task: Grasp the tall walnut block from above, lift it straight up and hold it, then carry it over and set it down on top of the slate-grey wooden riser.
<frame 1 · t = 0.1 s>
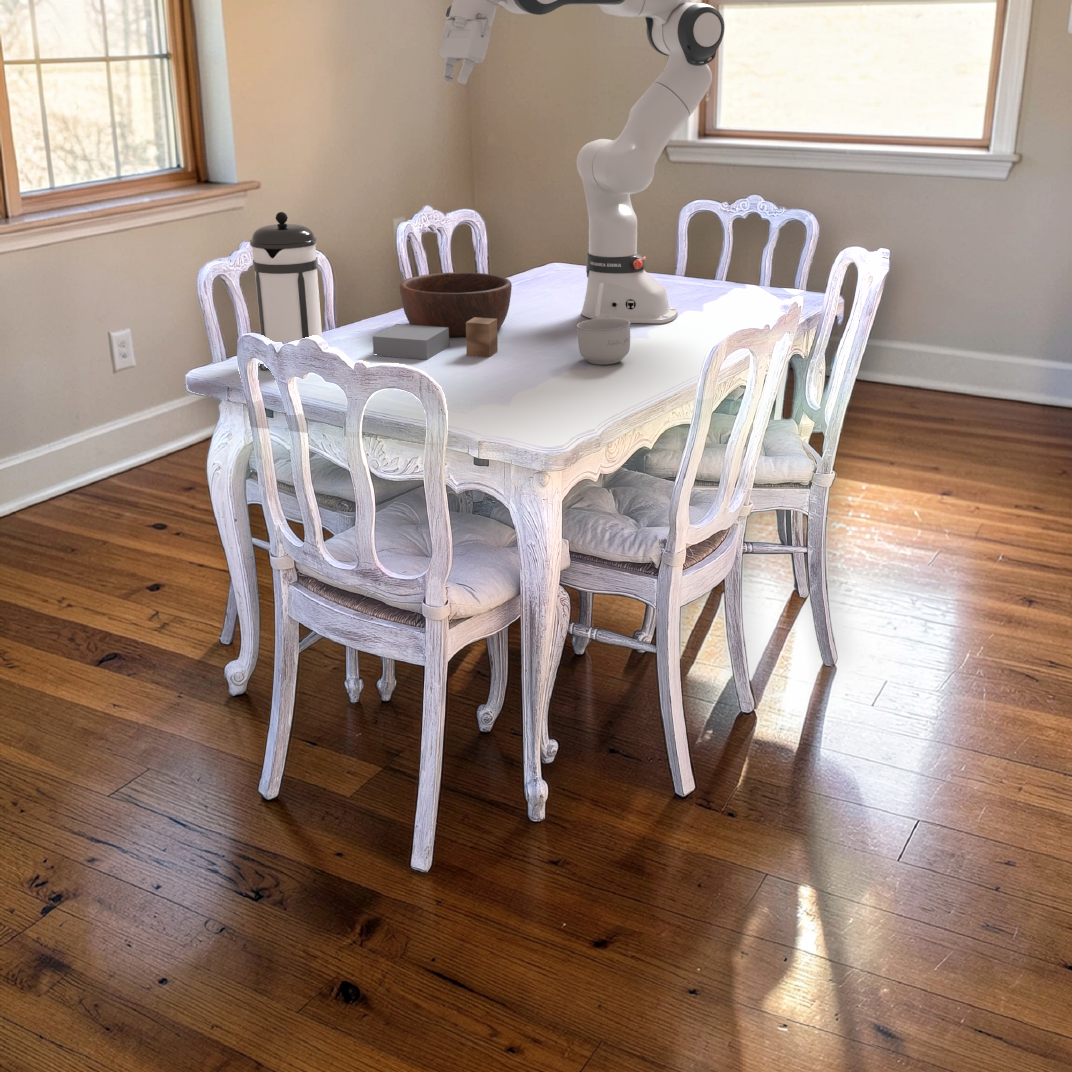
hand: (453, 82, 253), 52 cm above the table, tool tilted 20°, fingers open, 8 cm apart
wooden bowl: (457, 328, 275), on the table
walnut block: (482, 353, 252), on the table
teacup: (606, 360, 247), on the table
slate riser: (412, 350, 255), on the table
coffee press: (294, 363, 246), on the table
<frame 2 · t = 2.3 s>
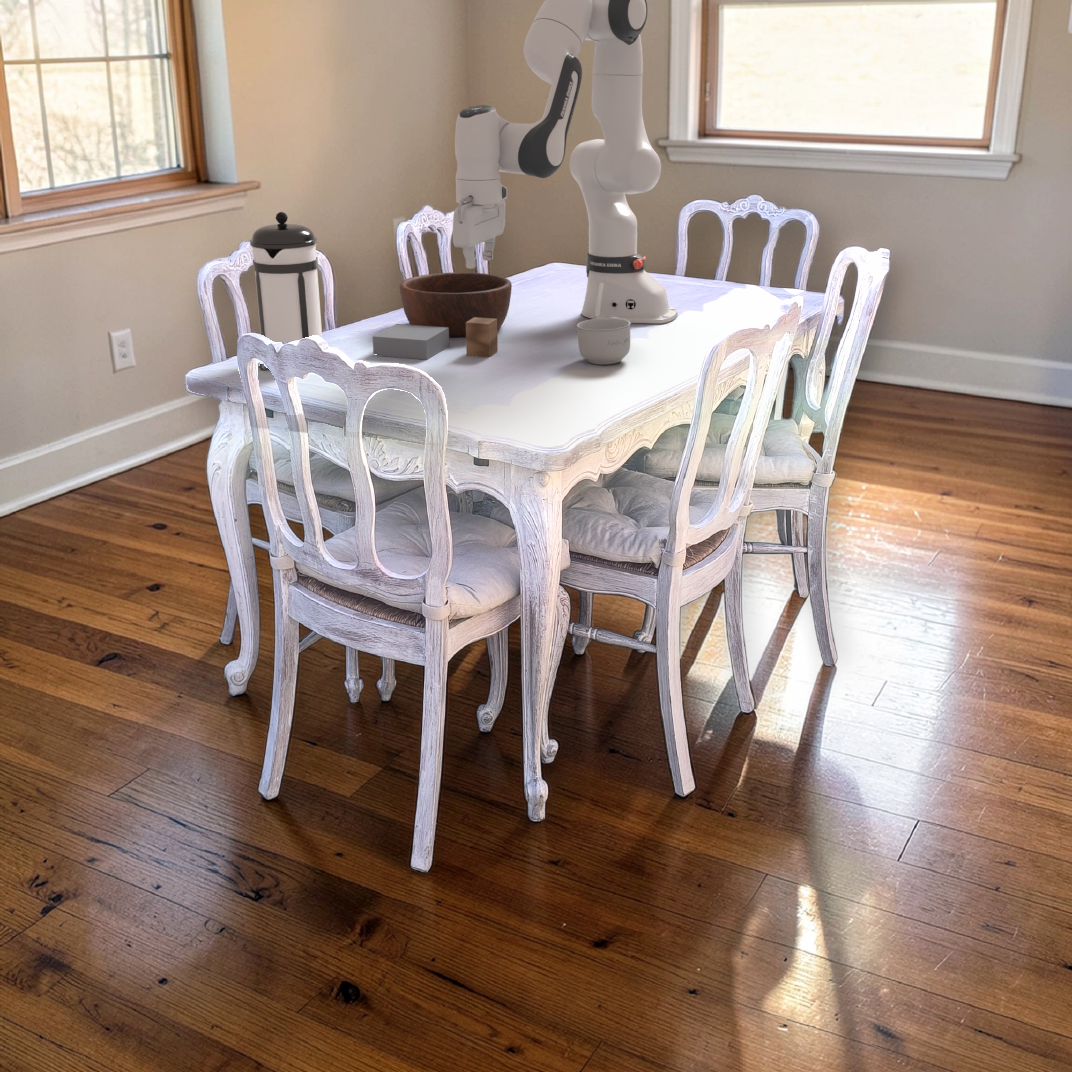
hand: (479, 263, 245), 18 cm above the table, tool pointing down, fingers open, 8 cm apart
nothing on the table moved.
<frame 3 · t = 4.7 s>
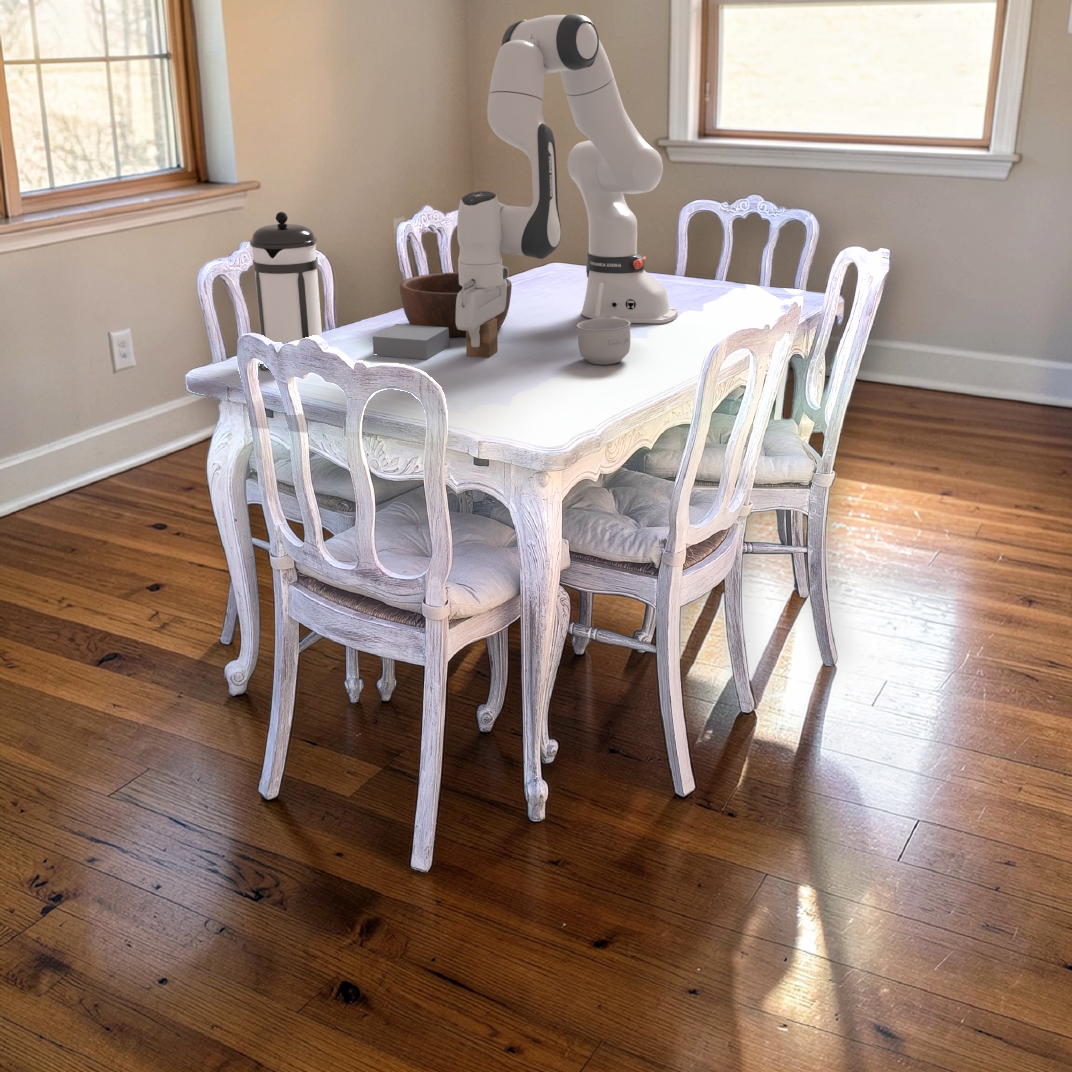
hand: (481, 342, 251), 2 cm above the table, tool pointing down, fingers closed on walnut block, 5 cm apart
walnut block: (482, 353, 252), on the table, touching gripper
everything else where it was.
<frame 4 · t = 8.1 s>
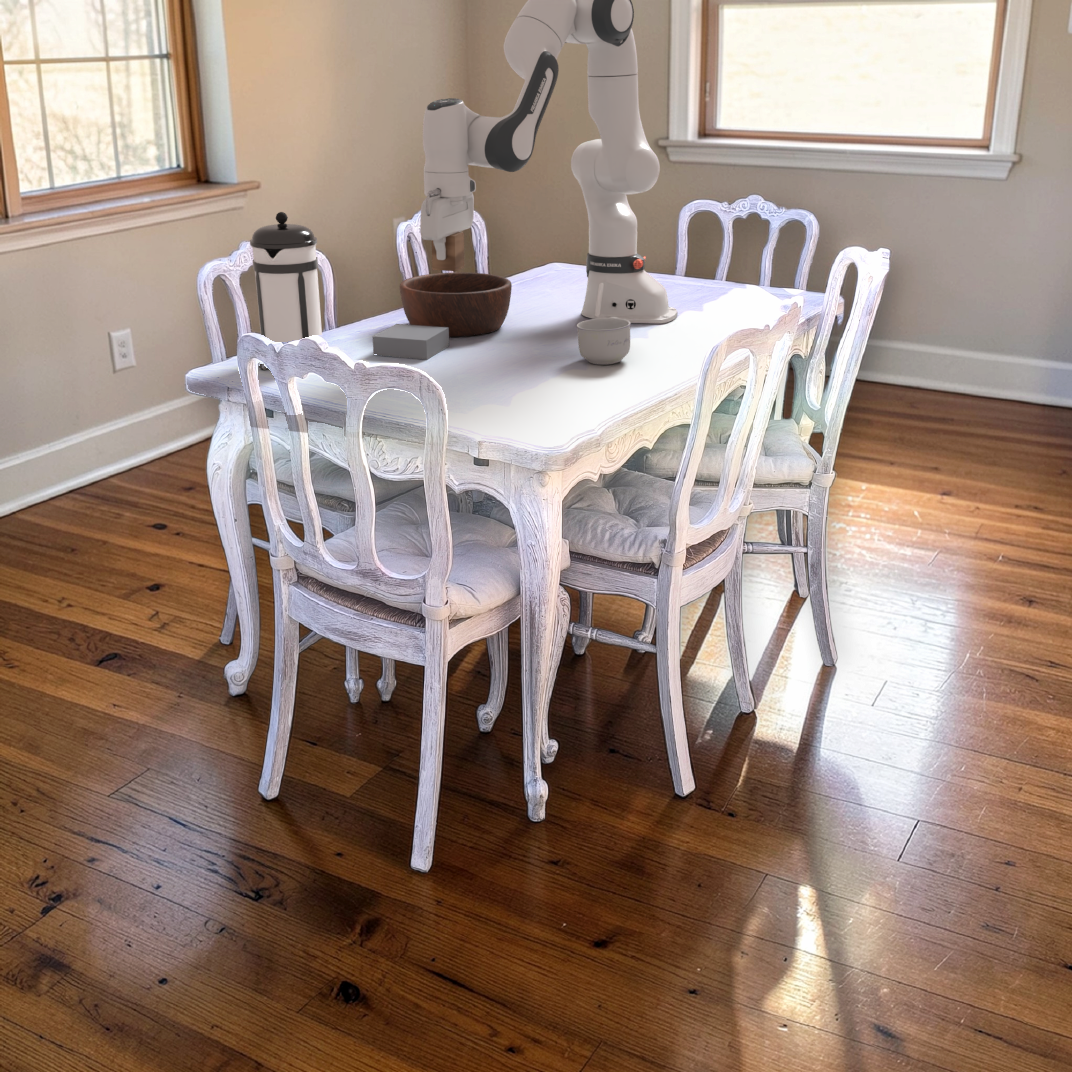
hand: (448, 256, 245), 20 cm above the table, tool pointing down, fingers closed on walnut block, 5 cm apart
walnut block: (448, 268, 246), point 17 cm above the table, touching gripper
everything else where it was.
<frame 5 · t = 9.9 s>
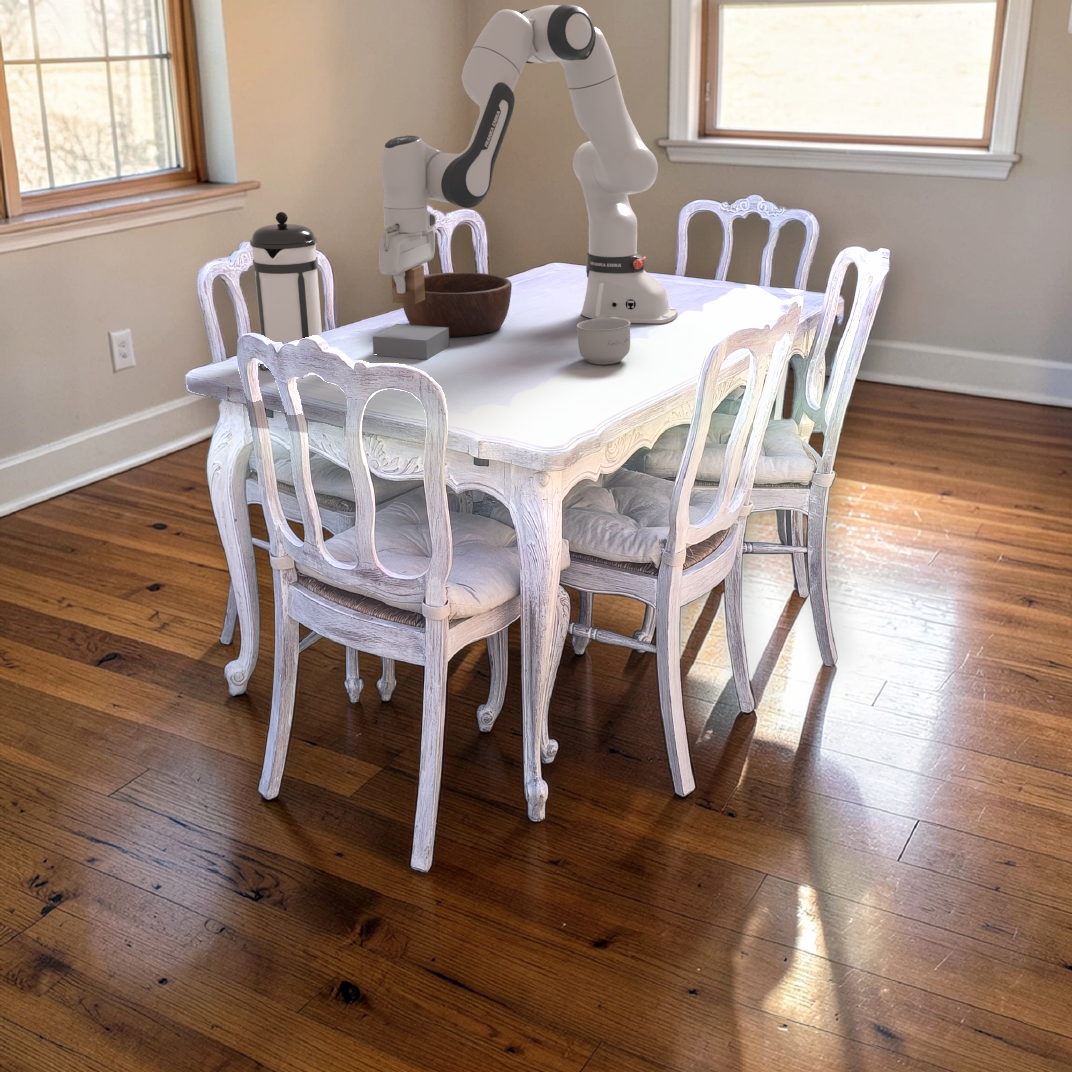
hand: (408, 289, 250), 13 cm above the table, tool pointing down, fingers closed on walnut block, 5 cm apart
walnut block: (409, 300, 251), point 10 cm above the table, touching gripper
everything else where it was.
when the fingers open (8 cm above the table, at t = 11.6 s): walnut block drops 2 cm, resting on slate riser.
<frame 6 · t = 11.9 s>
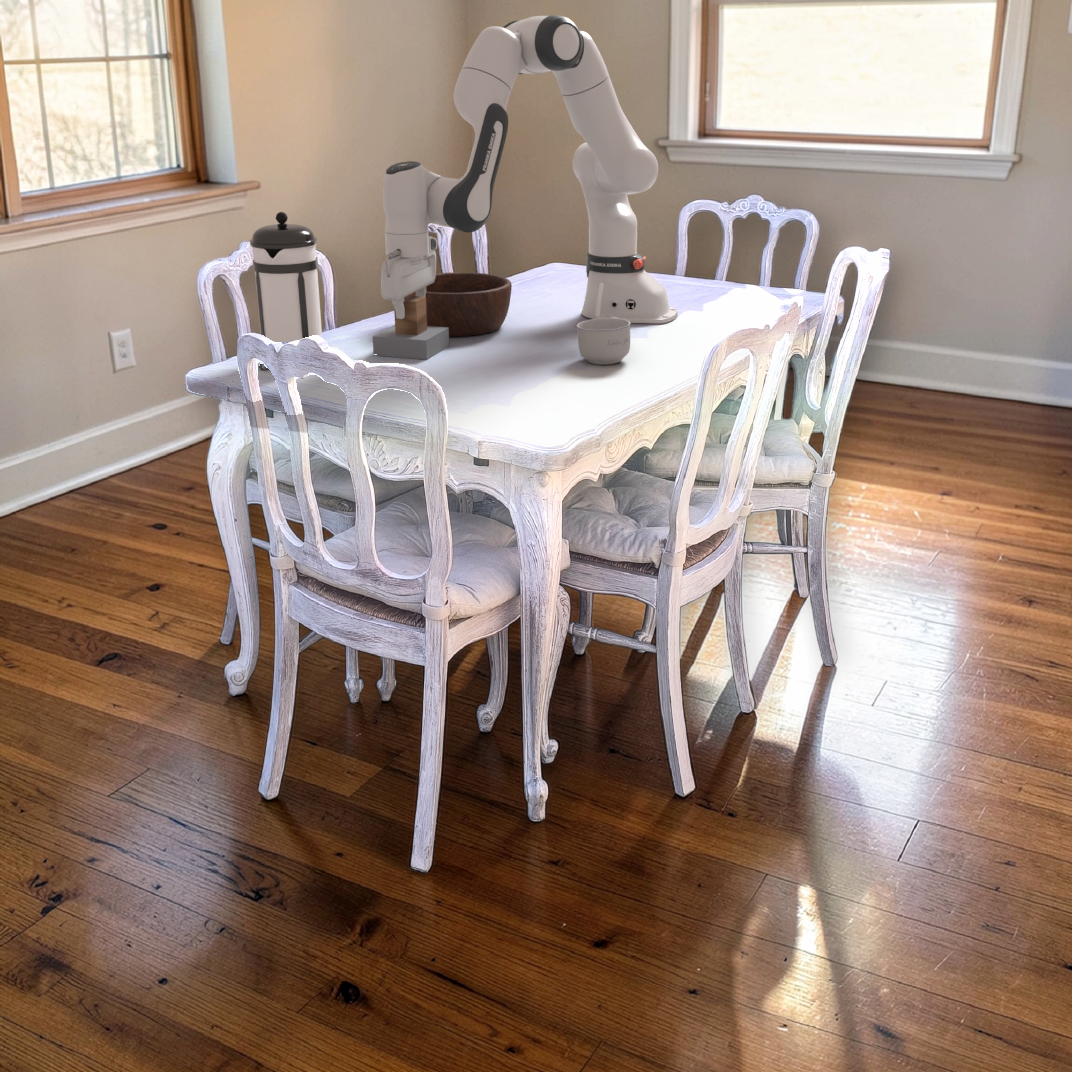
hand: (410, 313, 252), 8 cm above the table, tool pointing down, fingers open, 8 cm apart
walnut block: (411, 331, 253), point 4 cm above the table, touching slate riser
everything else where it was.
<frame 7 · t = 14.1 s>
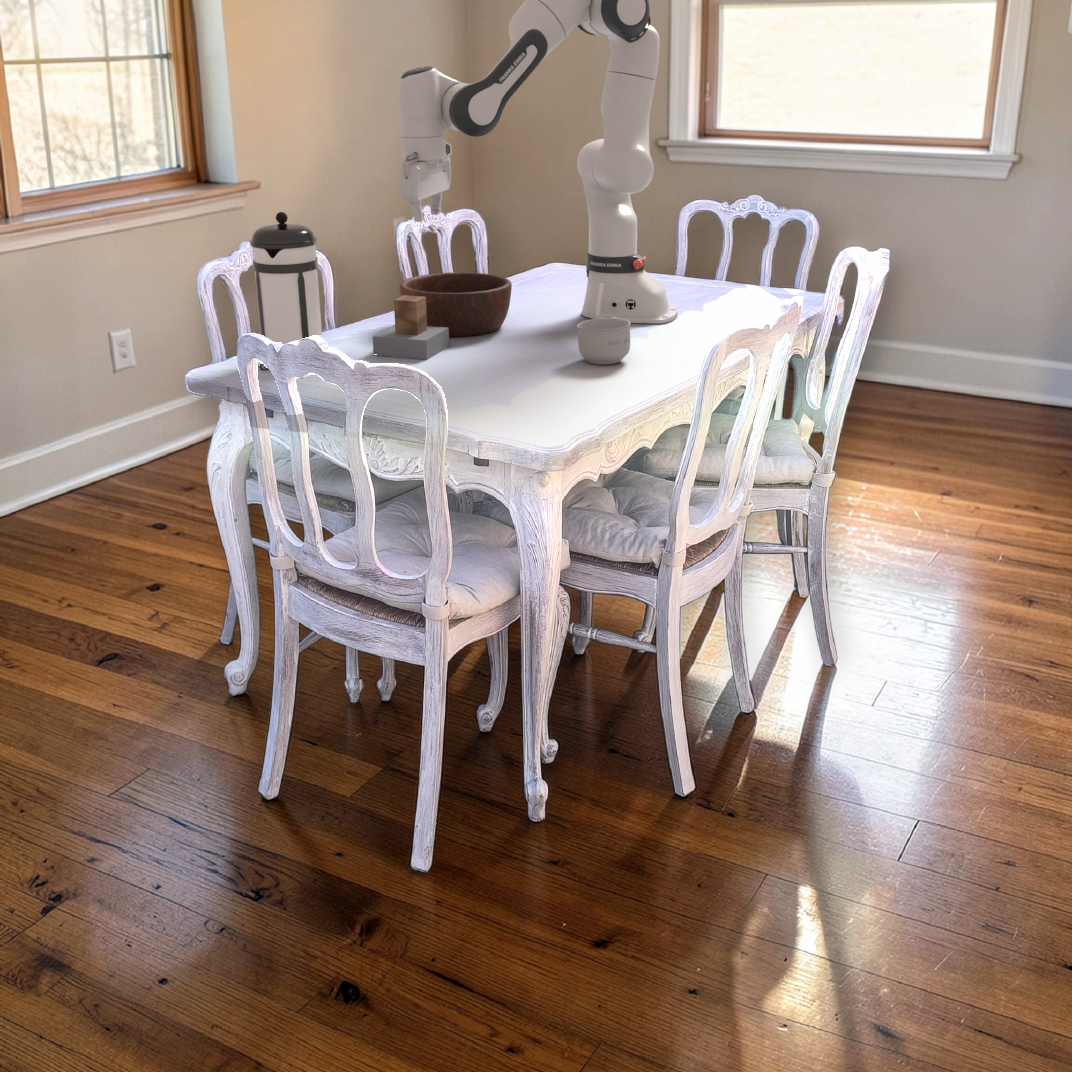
hand: (427, 217, 260), 25 cm above the table, tool pointing down, fingers open, 8 cm apart
nothing on the table moved.
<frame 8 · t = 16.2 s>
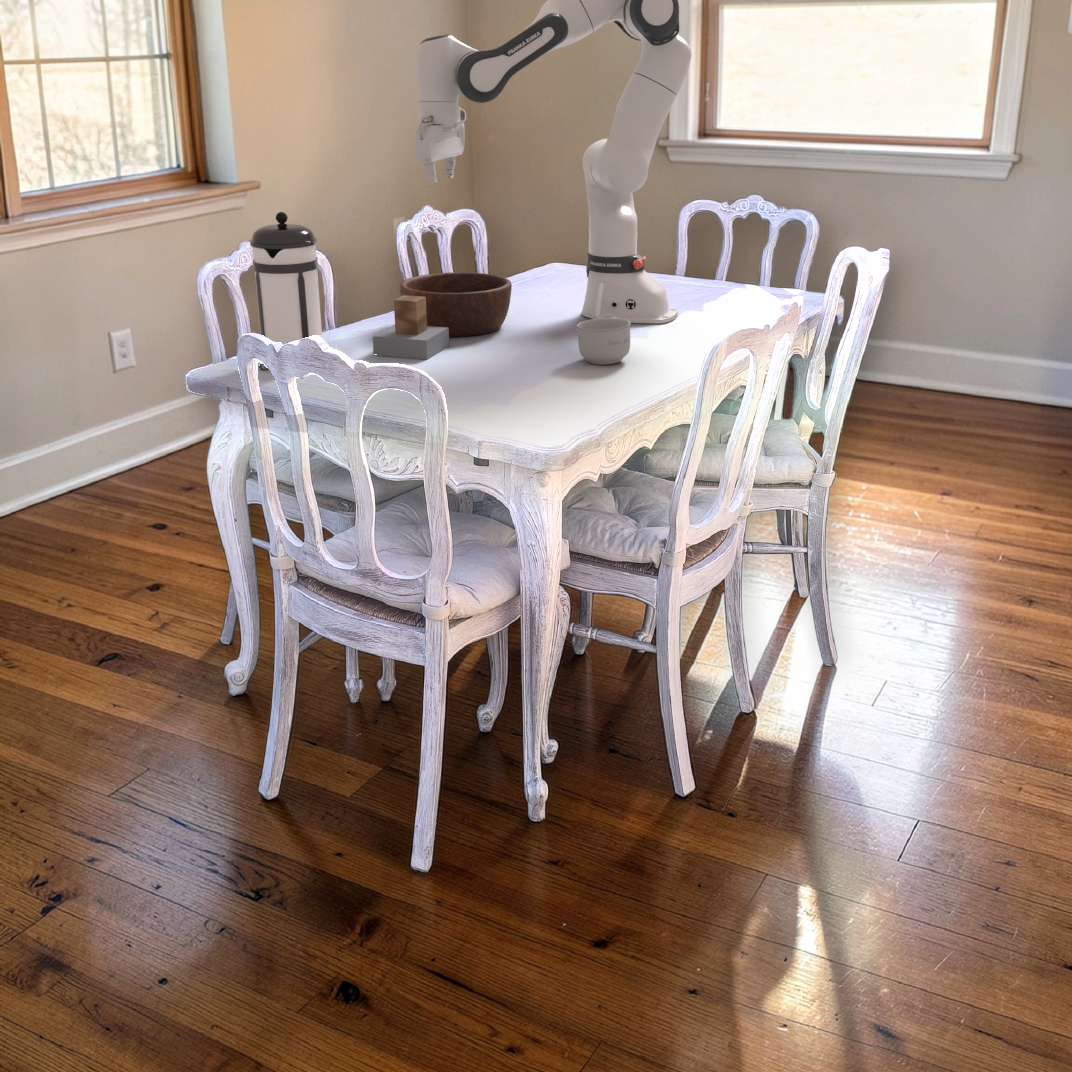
hand: (440, 180, 271), 31 cm above the table, tool pointing down, fingers open, 8 cm apart
nothing on the table moved.
at the end: walnut block inside the target area on the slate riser (0.1 cm from its centre), point 4.0 cm above the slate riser's base; walnut block tilted 0°; the gripper is holding nothing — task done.
